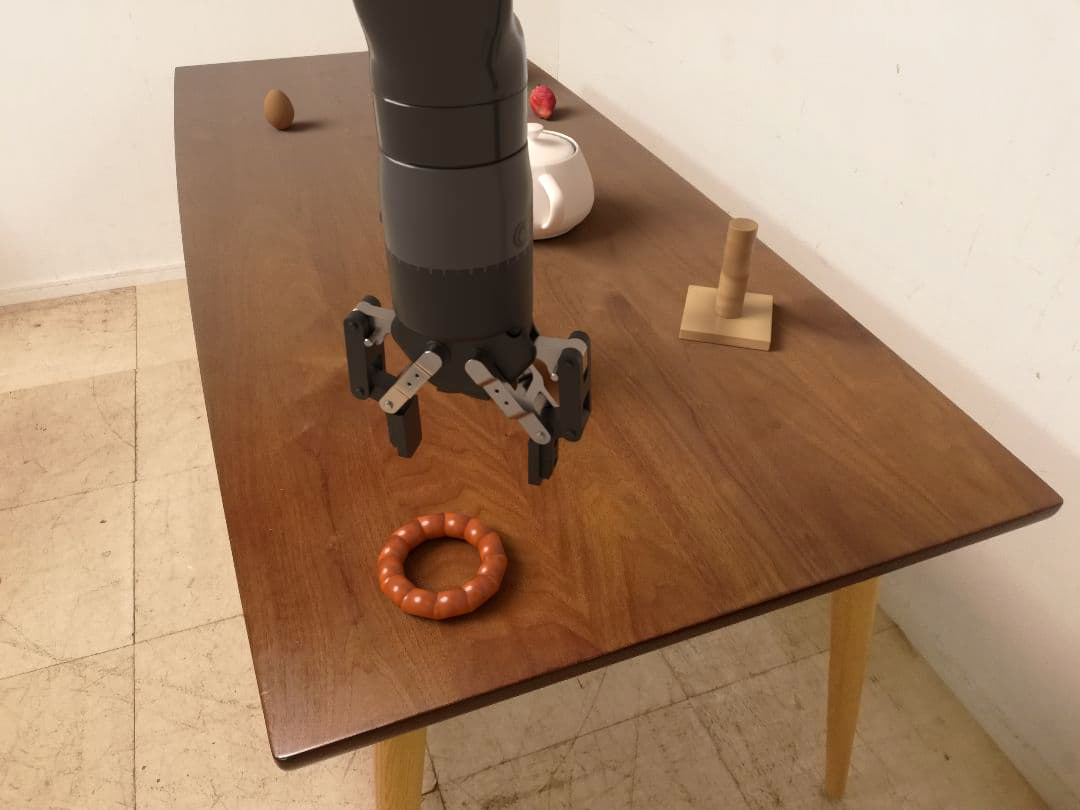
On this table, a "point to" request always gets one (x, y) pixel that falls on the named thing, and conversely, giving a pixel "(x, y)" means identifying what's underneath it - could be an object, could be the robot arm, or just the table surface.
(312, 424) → the table surface
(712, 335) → the post
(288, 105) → the egg
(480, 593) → the ring
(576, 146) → the teapot
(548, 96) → the fruit
